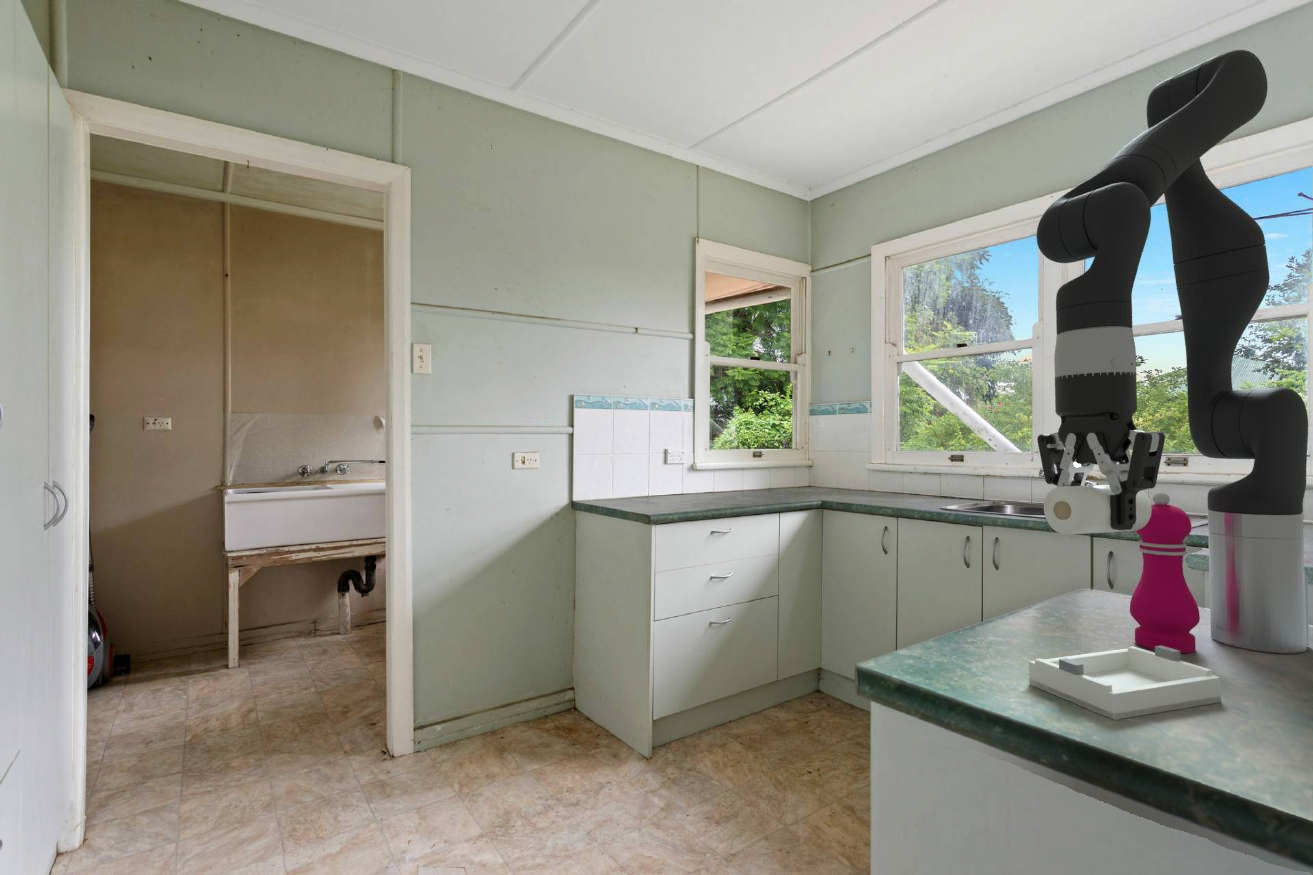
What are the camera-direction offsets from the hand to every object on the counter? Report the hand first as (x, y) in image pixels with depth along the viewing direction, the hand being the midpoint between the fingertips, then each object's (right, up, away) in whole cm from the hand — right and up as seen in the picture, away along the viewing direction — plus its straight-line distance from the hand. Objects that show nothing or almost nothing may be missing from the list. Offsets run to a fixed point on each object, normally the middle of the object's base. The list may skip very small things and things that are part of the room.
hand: (1097, 525), depth 72 cm
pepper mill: (+17, -18, +13) cm, 28 cm away
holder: (+1, -18, -2) cm, 18 cm away
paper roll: (0, -1, 0) cm, 1 cm away
